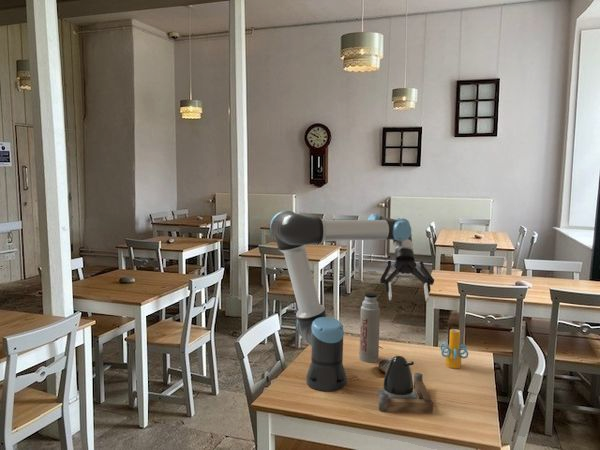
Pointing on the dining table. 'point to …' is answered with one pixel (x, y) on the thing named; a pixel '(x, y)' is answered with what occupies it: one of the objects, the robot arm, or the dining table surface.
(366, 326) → the thermos bottle
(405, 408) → the wooden corner bracket
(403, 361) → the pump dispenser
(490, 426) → the dining table surface
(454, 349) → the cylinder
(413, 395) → the pad
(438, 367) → the dining table surface
